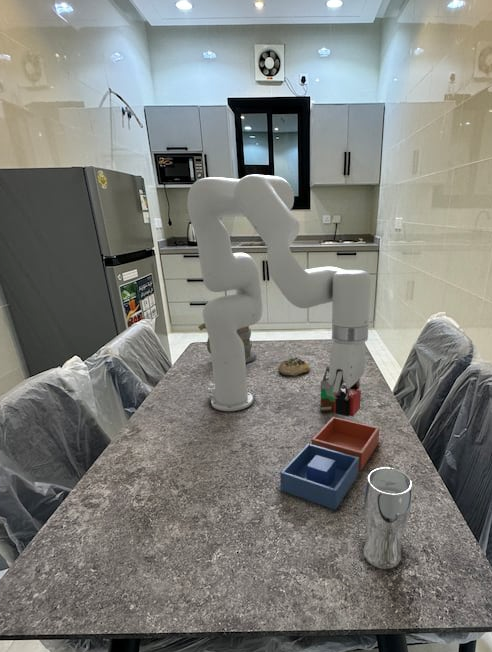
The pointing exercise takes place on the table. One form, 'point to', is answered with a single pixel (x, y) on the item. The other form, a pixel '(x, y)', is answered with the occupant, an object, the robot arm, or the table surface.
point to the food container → (327, 394)
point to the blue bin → (327, 496)
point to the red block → (352, 401)
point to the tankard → (245, 337)
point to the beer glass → (386, 515)
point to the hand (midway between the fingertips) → (347, 409)
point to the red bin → (348, 438)
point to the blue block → (321, 470)
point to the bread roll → (293, 367)
